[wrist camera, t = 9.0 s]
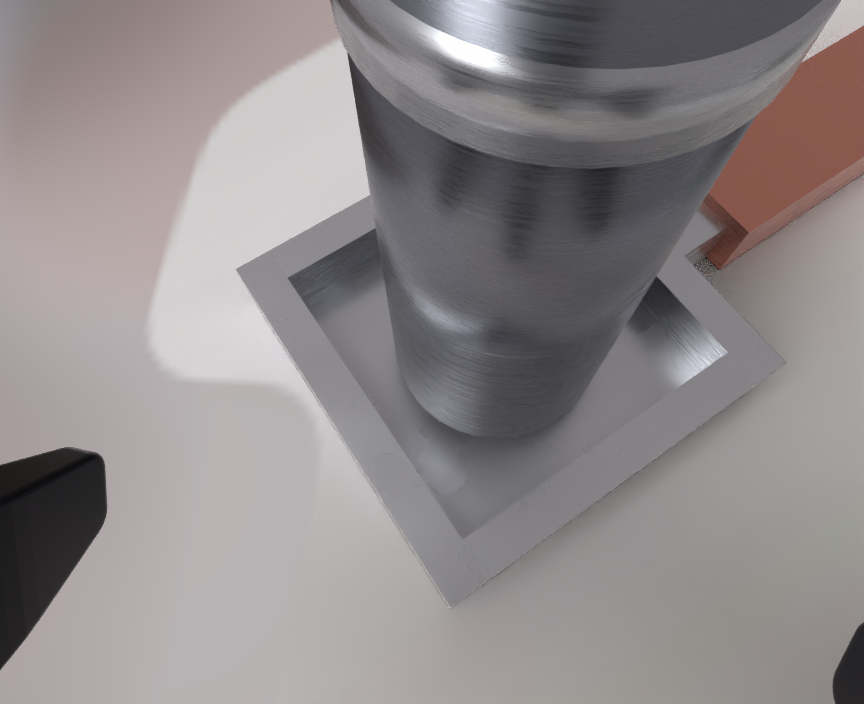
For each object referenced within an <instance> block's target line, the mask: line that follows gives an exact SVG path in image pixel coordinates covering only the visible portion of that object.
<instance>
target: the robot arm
mask: <svg viewBox="0 0 864 704" xmlns="http://www.w3.org/2000/svg"><path fill="white" fill-rule="evenodd" d="M106 514H107V495H106V476H105V464H104V460H103V458H102V456H100V455H99V454H98V453H96V452H91V451H87V450H82V449H78V448H73V447H65V448H61V449H57V450H54V451H50V452H46V453H42V454H39V455H35V456H32V457H28V458H25V459H21V460H17V461H13V462H10V463H6V464H2V465H0V670H1V669H2V667H3V666H4V665H5V664H6V663H7V661H8V660H9V659H10V658H11V656H12V655H13V654H14V653H15V651H16V650H17V649H18V648H19V646H20V645H21V644H22V643H23V641H24V640H25V639H26V637H27V636H28V635H29V633H30V632H31V631H32V629H33V628H34V626H35V625H36V624H37V622H38V621H39V620H40V618H41V617H42V615H43V614H44V612H45V611H46V609H47V608H48V606H49V605H50V603H51V602H52V600H53V599H54V597H55V596H56V595H57V593H58V592H59V590H60V589H61V587H62V586H63V584H64V583H65V581H66V580H67V578H68V577H69V575H70V574H71V572H72V571H73V570H74V568H75V567H76V565H77V564H78V562H79V561H80V559H81V558H82V556H83V555H84V553H85V552H86V550H87V549H88V547H89V546H90V544H91V543H92V542H93V540H94V538H95V537H96V535H97V534H98V533H99V531H100V529H101V527H102V526H103V524H104V521H105V518H106ZM833 696H834V701H835V704H864V623H862V624H861V625H860V626H859V627H858V628H857V630H856V632H855V634H854V636H853V638H852V639H851V641H850V643H849V645H848V647H847V649H846V651H845V653H844V655H843V657H842V659H841V661H840V663H839V665H838V667H837V669H836V671H835V674H834V678H833Z"/></svg>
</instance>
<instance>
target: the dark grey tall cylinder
mask: <svg viewBox="0 0 864 704" xmlns="http://www.w3.org/2000/svg"><path fill="white" fill-rule="evenodd" d="M330 1H331V6H332V11H333V16H334V21H335V25H336V27H337V30H338V32H339V35H340V37H341V40H342V42H343V45H344V47H345V49H346V50H347V53H348V60H349V66H350V72H351V78H352V84H353V91H354V97H355V103H356V109H357V115H358V121H359V128H360V134H361V140H362V146H363V152H364V158H365V165H366V171H367V177H368V183H369V189H370V196H371V202H372V208H373V214H374V220H375V226H376V233H377V239H378V245H379V251H380V257H381V264H382V270H383V276H384V282H385V288H386V294H387V301H388V307H389V313H390V319H391V325H392V332H393V338H394V344H395V350H396V356H397V361H398V366H399V369H400V372H401V374H402V377H403V379H404V381H405V383H406V385H407V387H408V389H409V391H410V392H411V393H412V395H413V396H414V398H415V399H416V400H417V401H418V402H419V403H420V405H421V406H422V407H423V408H424V409H425V410H426V411H428V412H429V413H430V414H431V415H432V416H434V417H435V418H436V419H438V420H439V421H441V422H443V423H444V424H446V425H448V426H450V427H452V428H454V429H456V430H458V431H461V432H464V433H468V434H471V435H475V436H481V437H486V438H510V437H517V436H522V435H527V434H530V433H533V432H536V431H539V430H541V429H543V428H545V427H547V426H549V425H551V424H553V423H554V422H556V421H557V420H559V419H560V418H561V417H563V416H564V415H565V414H566V413H567V412H568V411H569V410H570V409H572V408H573V406H574V405H575V404H576V403H577V401H578V400H579V399H580V398H581V396H582V395H583V393H584V391H585V390H586V388H587V387H588V385H589V383H590V382H591V380H592V379H593V377H594V375H595V374H596V372H597V371H598V369H599V367H600V366H601V364H602V363H603V361H604V359H605V358H606V356H607V355H608V353H609V351H610V350H611V348H612V346H613V345H614V343H615V342H616V340H617V338H618V337H619V335H620V334H621V332H622V330H623V329H624V327H625V326H626V324H627V322H628V321H629V319H630V318H631V316H632V314H633V313H634V311H635V310H636V308H637V306H638V305H639V303H640V302H641V300H642V298H643V297H644V295H645V294H646V292H647V290H648V289H649V287H650V286H651V284H652V282H653V281H654V279H655V278H656V276H657V274H658V273H659V271H660V270H661V268H662V266H663V265H664V263H665V262H666V260H667V258H668V257H669V255H670V254H671V252H672V250H673V249H674V247H675V246H676V244H677V242H678V241H679V239H680V238H681V236H682V234H683V233H684V231H685V230H686V228H687V226H688V225H689V223H690V222H691V220H692V218H693V217H694V215H695V214H696V212H697V210H698V209H699V207H700V206H701V204H702V202H703V201H704V199H705V197H706V196H707V194H708V193H709V191H710V189H711V188H712V186H713V185H714V183H715V181H716V180H717V178H718V177H719V175H720V173H721V172H722V170H723V169H724V167H725V165H726V164H727V162H728V161H729V159H730V157H731V156H732V154H733V153H734V151H735V149H736V148H737V146H738V145H739V143H740V141H741V140H742V138H743V137H744V135H745V133H746V132H747V130H748V129H749V127H750V125H751V124H752V122H753V121H754V119H755V117H756V116H757V114H759V113H760V112H761V111H762V110H763V109H765V108H766V107H767V106H768V105H769V104H770V103H771V102H772V101H773V100H774V99H775V98H776V97H777V95H778V94H779V93H780V92H781V91H782V89H783V88H784V87H785V86H786V85H787V84H788V82H789V81H790V79H791V78H792V76H793V74H794V73H795V71H796V70H797V68H798V67H799V65H800V64H801V62H802V61H803V59H804V57H805V56H806V54H807V53H808V51H809V50H810V48H811V47H812V45H813V43H814V42H815V40H816V39H817V37H818V36H819V34H820V33H821V31H822V29H823V28H824V26H825V25H826V23H827V22H828V20H829V19H830V17H831V16H832V14H833V12H834V11H835V9H836V8H837V6H838V5H839V3H840V2H841V0H330Z"/></svg>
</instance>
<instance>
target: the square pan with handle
mask: <svg viewBox="0 0 864 704" xmlns="http://www.w3.org/2000/svg"><path fill="white" fill-rule="evenodd" d="M862 174H864V26H863V27H861V28H859V29H858V30H856V31H854V32H853V33H851V34H849V35H848V36H846V37H844V38H843V39H841V40H839V41H838V42H836V43H834V44H833V45H831V46H829V47H828V48H826V49H824V50H823V51H821V52H819V53H818V54H816V55H814V56H813V57H811V58H809V59H808V60H806V61H804V62H802V63H801V64H800V65H799V67H798V68H797V70H796V71H795V73H794V74H793V76H792V78H791V79H790V81H789V82H788V84H787V85H786V86H785V87H784V88H783V89H782V91H781V92H780V93H779V94H778V95H777V97H776V98H775V99H774V100H773V101H772V102H771V103H770V104H769V105H768V106H767V107H766V108H765V109H763V110H762V111H761V112H760V113H759V114H757V116H756V117H755V119H754V121H753V122H752V124H751V125H750V127H749V129H748V130H747V132H746V133H745V135H744V137H743V138H742V140H741V141H740V143H739V145H738V146H737V148H736V149H735V151H734V153H733V154H732V156H731V157H730V159H729V161H728V162H727V164H726V165H725V167H724V169H723V170H722V172H721V173H720V175H719V177H718V178H717V180H716V181H715V183H714V185H713V186H712V188H711V189H710V191H709V193H708V194H707V196H706V197H705V199H704V201H703V202H702V204H701V206H700V207H699V209H698V210H697V212H696V214H695V215H694V217H693V218H692V220H691V222H690V223H689V225H688V226H687V228H686V230H685V231H684V233H683V234H682V236H681V238H680V239H679V241H678V242H677V244H676V246H675V247H674V249H673V250H672V252H671V254H670V255H669V257H668V258H667V260H666V262H665V263H664V265H663V266H662V268H661V270H660V271H659V273H658V274H657V276H656V278H655V279H654V281H653V282H652V284H651V286H650V287H649V289H648V290H647V292H646V294H645V295H644V297H643V298H642V300H641V302H640V303H639V305H638V306H637V308H636V310H635V311H634V313H633V314H632V316H631V318H630V319H629V321H628V322H627V324H626V326H625V327H624V329H623V330H622V332H621V334H620V335H619V337H618V338H617V340H616V342H615V343H614V345H613V346H612V348H611V350H610V351H609V353H608V355H607V356H606V358H605V359H604V361H603V363H602V364H601V366H600V367H599V369H598V371H597V372H596V374H595V375H594V377H593V379H592V380H591V382H590V383H589V385H588V387H587V388H586V390H585V391H584V393H583V395H582V396H581V398H580V399H579V400H578V401H577V403H576V404H575V405H574V406H573V408H572V409H570V410H569V411H568V412H567V413H566V414H565V415H564V416H563V417H561V418H560V419H559V420H557V421H556V422H554V423H553V424H551V425H549V426H547V427H545V428H543V429H541V430H539V431H536V432H533V433H530V434H527V435H522V436H517V437H510V438H486V437H481V436H475V435H471V434H468V433H464V432H461V431H458V430H456V429H454V428H452V427H450V426H448V425H446V424H444V423H443V422H441V421H439V420H438V419H436V418H435V417H434V416H432V415H431V414H430V413H429V412H428V411H426V410H425V409H424V408H423V407H422V406H421V405H420V403H419V402H418V401H417V400H416V399H415V398H414V396H413V395H412V393H411V392H410V391H409V389H408V387H407V385H406V383H405V381H404V379H403V377H402V374H401V372H400V369H399V366H398V361H397V356H396V350H395V344H394V338H393V332H392V325H391V319H390V313H389V307H388V301H387V294H386V288H385V282H384V276H383V270H382V264H381V257H380V251H379V245H378V239H377V233H376V226H375V220H374V214H373V208H372V202H371V196H370V195H369V196H368V197H366V198H364V199H362V200H360V201H359V202H357V203H355V204H353V205H351V206H350V207H348V208H346V209H344V210H342V211H340V212H339V213H337V214H335V215H333V216H331V217H330V218H328V219H326V220H324V221H322V222H321V223H319V224H317V225H315V226H313V227H311V228H310V229H308V230H306V231H304V232H302V233H301V234H299V235H297V236H295V237H293V238H291V239H290V240H288V241H286V242H284V243H282V244H281V245H279V246H277V247H275V248H273V249H272V250H270V251H268V252H266V253H264V254H262V255H261V256H259V257H257V258H255V259H253V260H252V261H250V262H248V263H246V264H244V265H243V266H241V267H239V268H237V269H236V270H237V272H238V274H239V276H240V277H241V279H242V281H243V282H244V284H245V286H246V288H247V289H248V291H249V293H250V295H251V296H252V298H253V300H254V302H255V303H256V305H257V307H258V308H259V310H260V311H261V313H262V314H263V316H264V318H265V319H266V321H267V322H268V324H269V325H270V327H271V329H272V330H273V332H274V333H275V335H276V336H277V338H278V340H279V341H280V343H281V344H282V346H283V348H284V349H285V351H286V352H287V354H288V355H289V357H290V359H291V360H292V362H293V363H294V365H295V366H296V368H297V370H298V371H299V373H300V374H301V376H302V377H303V379H304V381H305V382H306V384H307V385H308V387H309V388H310V390H311V392H312V393H313V395H314V396H315V398H316V399H317V401H318V403H319V404H320V406H321V407H322V409H323V410H324V412H325V414H326V415H327V417H328V418H329V420H330V421H331V423H332V425H333V426H334V428H335V429H336V431H337V432H338V434H339V436H340V437H341V439H342V440H343V442H344V444H345V445H346V447H347V448H348V450H349V451H350V453H351V455H352V456H353V458H354V459H355V461H356V462H357V464H358V466H359V467H360V469H361V470H362V472H363V473H364V475H365V477H366V478H367V480H368V481H369V483H370V484H371V486H372V488H373V489H374V491H375V492H376V494H377V495H378V497H379V499H380V500H381V502H382V503H383V505H384V506H385V508H386V510H387V511H388V513H389V514H390V516H391V517H392V519H393V521H394V522H395V524H396V525H397V527H398V528H399V530H400V532H401V533H402V535H403V536H404V538H405V539H406V541H407V543H408V544H409V546H410V547H411V549H412V551H413V552H414V554H415V555H416V557H417V558H418V560H419V562H420V563H421V565H422V566H423V568H424V569H425V571H426V573H427V574H428V576H429V577H430V579H431V580H432V582H433V584H434V585H435V587H436V588H437V590H438V591H439V593H440V595H441V596H442V598H443V599H444V601H445V602H446V604H447V606H448V607H449V609H450V608H451V607H453V606H454V605H456V604H457V603H458V602H460V601H461V600H462V599H464V598H465V597H467V596H468V595H469V594H471V593H472V592H473V591H475V590H476V589H478V588H479V587H480V586H482V585H483V584H484V583H486V582H487V581H488V580H490V579H491V578H493V577H494V576H495V575H497V574H498V573H499V572H501V571H502V570H504V569H505V568H506V567H508V566H509V565H510V564H512V563H513V562H515V561H516V560H517V559H519V558H520V557H521V556H523V555H524V554H525V553H527V552H528V551H530V550H531V549H532V548H534V547H535V546H536V545H538V544H539V543H541V542H542V541H543V540H545V539H546V538H547V537H549V536H550V535H552V534H553V533H554V532H556V531H557V530H558V529H560V528H561V527H563V526H564V525H565V524H567V523H568V522H569V521H571V520H572V519H573V518H575V517H576V516H578V515H579V514H580V513H582V512H583V511H584V510H586V509H587V508H589V507H590V506H591V505H593V504H594V503H595V502H597V501H598V500H600V499H601V498H602V497H604V496H605V495H606V494H608V493H609V492H611V491H612V490H613V489H615V488H616V487H617V486H619V485H620V484H621V483H623V482H624V481H626V480H627V479H628V478H630V477H631V476H632V475H634V474H635V473H637V472H638V471H639V470H641V469H642V468H643V467H645V466H646V465H648V464H649V463H650V462H652V461H653V460H654V459H656V458H657V457H659V456H660V455H661V454H663V453H664V452H665V451H667V450H668V449H669V448H671V447H672V446H674V445H675V444H676V443H678V442H679V441H680V440H682V439H683V438H685V437H686V436H687V435H689V434H690V433H691V432H693V431H694V430H696V429H697V428H698V427H700V426H701V425H702V424H704V423H705V422H707V421H708V420H709V419H711V418H712V417H713V416H715V415H716V414H717V413H719V412H720V411H722V410H723V409H724V408H726V407H727V406H728V405H730V404H731V403H733V402H734V401H735V400H737V399H738V398H739V397H741V396H742V395H744V394H745V393H746V392H748V391H749V390H750V389H752V388H753V387H754V386H756V385H757V384H758V383H760V382H761V381H762V380H764V379H765V378H766V377H768V376H769V375H770V374H772V373H773V372H774V371H776V370H777V369H778V368H780V367H781V366H782V365H784V364H785V363H786V362H785V361H784V360H783V358H782V357H781V356H780V355H779V354H778V353H777V352H776V351H775V350H774V349H773V348H772V347H771V346H770V345H769V344H768V343H767V342H766V341H765V340H764V339H763V338H762V337H761V336H760V334H759V333H758V332H757V331H756V330H755V329H754V328H753V327H752V326H751V325H750V324H749V323H748V322H747V321H746V320H745V319H744V318H743V317H742V316H741V315H740V314H739V313H738V312H737V311H736V309H735V308H734V307H733V306H732V305H731V304H730V303H729V302H728V301H727V300H726V299H725V298H724V297H723V296H722V295H721V294H720V293H719V292H718V291H717V290H716V289H715V288H714V287H713V286H712V284H711V283H710V282H709V281H708V280H707V279H706V278H705V277H704V276H703V275H702V274H701V273H700V272H699V271H698V270H697V269H696V268H695V267H694V266H693V265H695V264H696V263H698V262H699V261H701V260H702V259H704V258H705V257H707V258H708V259H709V260H710V261H711V262H712V263H713V264H714V265H715V266H716V267H717V268H718V269H719V270H720V269H721V268H723V267H724V266H726V265H727V264H729V263H730V262H732V261H733V260H735V259H736V258H738V257H739V256H741V255H742V254H744V253H745V252H747V251H748V250H750V249H751V248H753V247H754V246H756V245H757V244H759V243H760V242H762V241H763V240H765V239H766V238H768V237H769V236H771V235H772V234H774V233H775V232H777V231H778V230H780V229H781V228H783V227H784V226H786V225H787V224H789V223H790V222H792V221H793V220H795V219H796V218H798V217H799V216H801V215H802V214H804V213H805V212H807V211H808V210H810V209H811V208H813V207H814V206H816V205H817V204H819V203H820V202H822V201H823V200H825V199H826V198H828V197H829V196H831V195H832V194H834V193H835V192H837V191H838V190H840V189H841V188H843V187H844V186H846V185H847V184H849V183H850V182H852V181H853V180H855V179H856V178H858V177H859V176H861V175H862Z"/></svg>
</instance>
